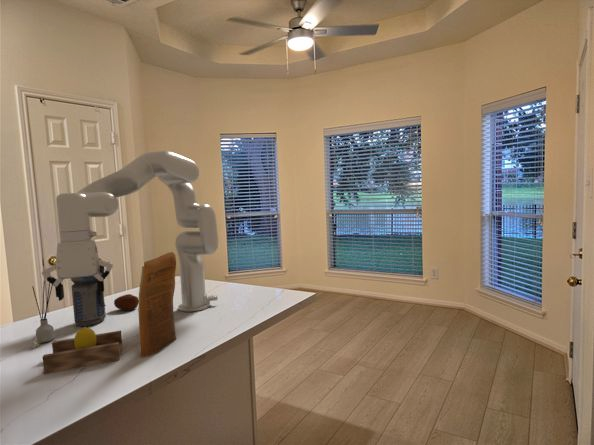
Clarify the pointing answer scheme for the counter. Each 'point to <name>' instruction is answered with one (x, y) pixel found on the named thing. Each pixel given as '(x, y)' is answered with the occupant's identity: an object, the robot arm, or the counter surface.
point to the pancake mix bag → (157, 304)
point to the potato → (126, 302)
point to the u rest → (83, 353)
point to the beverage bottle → (88, 300)
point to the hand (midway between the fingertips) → (81, 296)
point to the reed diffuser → (43, 324)
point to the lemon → (85, 338)
